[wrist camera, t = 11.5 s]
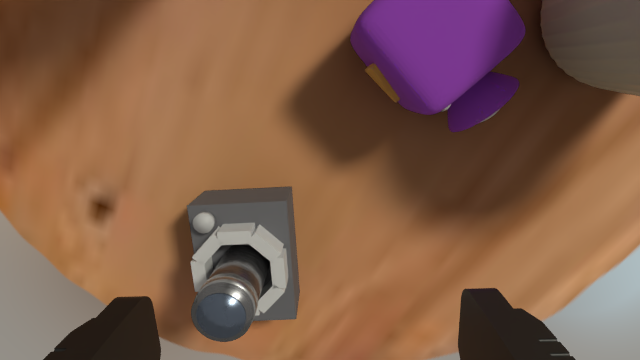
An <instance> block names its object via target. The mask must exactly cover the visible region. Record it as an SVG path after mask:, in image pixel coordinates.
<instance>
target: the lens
mask: <svg viewBox="0 0 640 360" xmlns="http://www.w3.org/2000/svg"><path fill="white" fill-rule="evenodd" d="M268 269H269V262H268V259H267V258H266V257H264V256H263V255H262V254H261V253H259V252H258V251H257V250H256V249H254V248H253V247H252V246H251V245H249V244H238V245H233V246H231V247H230V248H229V249H228V250H227V251H226V252H225V253H224V255H223V257H222V258H221V260H220V261H219V263H218V265H217V266H216V268H215V269H214V271H213V272H212V274H211V276H210V277H209V279H208V280H207V281H206V282H205V283H204V284H203V286H202V287H201V289H200V290H199V292H198V294H197V295H196V298H195V301H194V303H193V305H192V309H191V316H192V320H193V323H194V325H195V327H196V328H197V330H198V331H199V332H200V333H201V334H203V335H204V336H206V337H207V338H209V339H212V340H215V341H220V342H227V341H233V340H236V339H238V338H240V337H241V336H243V335H244V334H245V333H246V332H247V330H248V329H249V327H250V325H251V323H252V322H253V319H254V317H255V313H256V310H257V307H258V300H259V297H260V294H261V291H262V288H263V285H264V282H265V279H266V276H267V273H268Z"/></svg>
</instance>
